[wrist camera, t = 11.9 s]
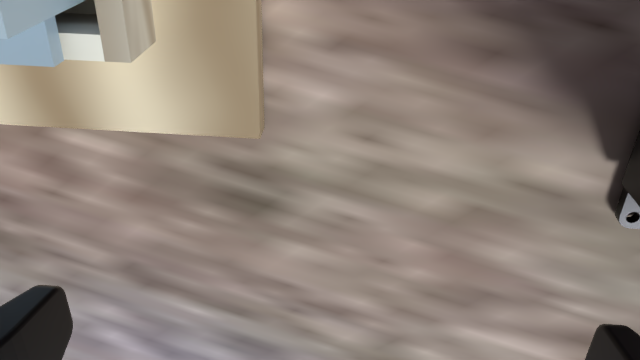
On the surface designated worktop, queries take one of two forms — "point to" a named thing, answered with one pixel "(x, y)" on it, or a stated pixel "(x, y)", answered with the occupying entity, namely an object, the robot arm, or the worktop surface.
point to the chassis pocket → (147, 70)
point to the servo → (31, 32)
